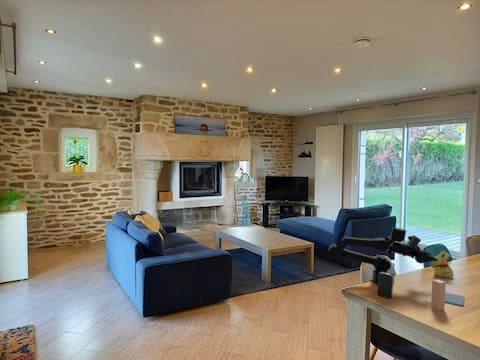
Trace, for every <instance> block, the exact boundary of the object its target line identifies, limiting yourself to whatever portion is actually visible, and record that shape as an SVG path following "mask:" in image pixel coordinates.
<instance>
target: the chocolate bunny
mask: <svg viewBox="0 0 480 360" xmlns="http://www.w3.org/2000/svg"><path fill="white" fill-rule="evenodd" d="M450 256H451V255H450V254H449V253H447V251H446V250H442V251H441V252H440V253H439V254H438V255H437V256H433V257H434V258H436V259H437V260H436V261H431V262H432V264H433V265H431V268H433V271H434V272H433V274H434V276H438V277H443V278H448V279H453V278H454V272H453V269H452V267H451V266H450V265H449V264H448V262H447V260H448V259H449V258H450Z"/></svg>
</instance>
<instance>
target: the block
mask: <svg viewBox="0 0 480 360" xmlns="http://www.w3.org/2000/svg"><path fill="white" fill-rule="evenodd" d="M446 287H447V285H446V281H443V280H442V279H440V278H438V279H432V283H431V299H430V300H431V301H430V302H431V303H430V309H433V310H435V311H437V312H441V311H445V292H446Z"/></svg>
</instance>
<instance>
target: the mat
mask: <svg viewBox="0 0 480 360" xmlns="http://www.w3.org/2000/svg"><path fill="white" fill-rule="evenodd" d="M464 302H465V296H464V295H460V294H455V293H451V292H446V291H445V303H446V304H449V305H451V304H452V305H455V306H459V307H464Z"/></svg>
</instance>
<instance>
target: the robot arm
mask: <svg viewBox="0 0 480 360" xmlns="http://www.w3.org/2000/svg"><path fill="white" fill-rule="evenodd" d="M406 234H407V230H406V229H405V228H404V229H403V228H401V227H400V228H399V227H392V228H391V232H390V235H389V236H387V237H375V238H374V237H373V238H363V237H362V238H361V237H360V238H359V237H349V236H344V237H343V238H341V239H340V240H338V241H337V242H335V243H332V244H331V245H330V246H329V247H328V253H329V255H330V256H331V257H333V258H339V259H340V258H347V259H350V260H354V261H357V262H362V263H365V264H368V265H372V266H373V268H374V270H373V269H372V279H371V282H373V283H374V284H375V285H377V286H378V274H379V273H380V272H386V273H388V271H390V269H391V268H392V264H391V262H390V261H389V259H388V258H387V256H385V255H380V254H378V253H377V254H376V256H371V255H369V254H368V255H367V254H363V253H360V252H356V251H353V250H348V249H346V247H347V246H356V247H357V246H358V247H365V248H366V247H367V248H373V249H375V250H379V251H383V252H384V251H385V252H386V253H387V254H388V256H392V253H395V254H398V255H401V256H403V257H409V258H411V259H414V260H415V262H416V263H418V264H421V265H422V264H425V263H428V262H432V261H436V260H437V259H436V258H434V257H435V256H432V253H430V252H428V251H426V250H424V249H421V247H420V246H419V243H421V241H422V239H421V238H419V237H417V235H414V234H413V235H408V236H407V239H408V242H406V243H402V242H404V241H405V238H406Z"/></svg>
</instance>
